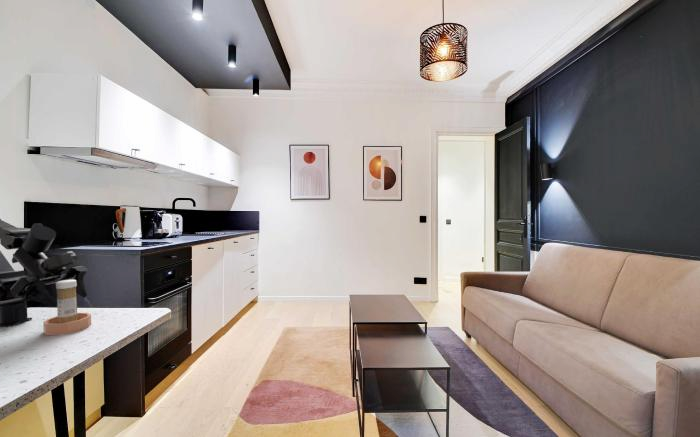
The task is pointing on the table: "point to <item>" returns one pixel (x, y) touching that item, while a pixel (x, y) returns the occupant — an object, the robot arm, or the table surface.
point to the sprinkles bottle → (66, 301)
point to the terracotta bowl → (66, 325)
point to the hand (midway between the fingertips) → (71, 300)
